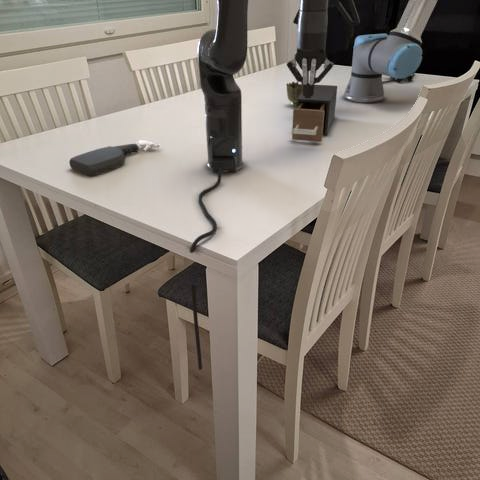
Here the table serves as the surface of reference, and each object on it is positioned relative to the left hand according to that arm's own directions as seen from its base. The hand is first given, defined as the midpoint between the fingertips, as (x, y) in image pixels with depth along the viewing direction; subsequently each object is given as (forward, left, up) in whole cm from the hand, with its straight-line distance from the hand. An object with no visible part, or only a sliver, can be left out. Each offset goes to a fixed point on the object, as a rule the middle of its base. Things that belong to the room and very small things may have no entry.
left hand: (307, 97), depth 124 cm
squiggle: (+84, -49, -14) cm, 98 cm away
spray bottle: (-11, +53, -14) cm, 56 cm away
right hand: (+26, -7, +8) cm, 29 cm away
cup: (+42, 0, -14) cm, 45 cm away
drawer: (+8, -2, -13) cm, 16 cm away
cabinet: (+20, -5, -14) cm, 25 cm away
